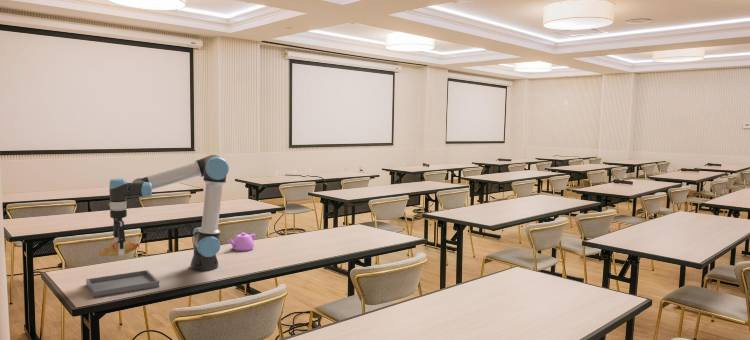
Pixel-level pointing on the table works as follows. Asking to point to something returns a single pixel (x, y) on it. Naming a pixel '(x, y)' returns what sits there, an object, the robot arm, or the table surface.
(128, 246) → the croissant
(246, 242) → the teapot
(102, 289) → the serving tray
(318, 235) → the table surface
